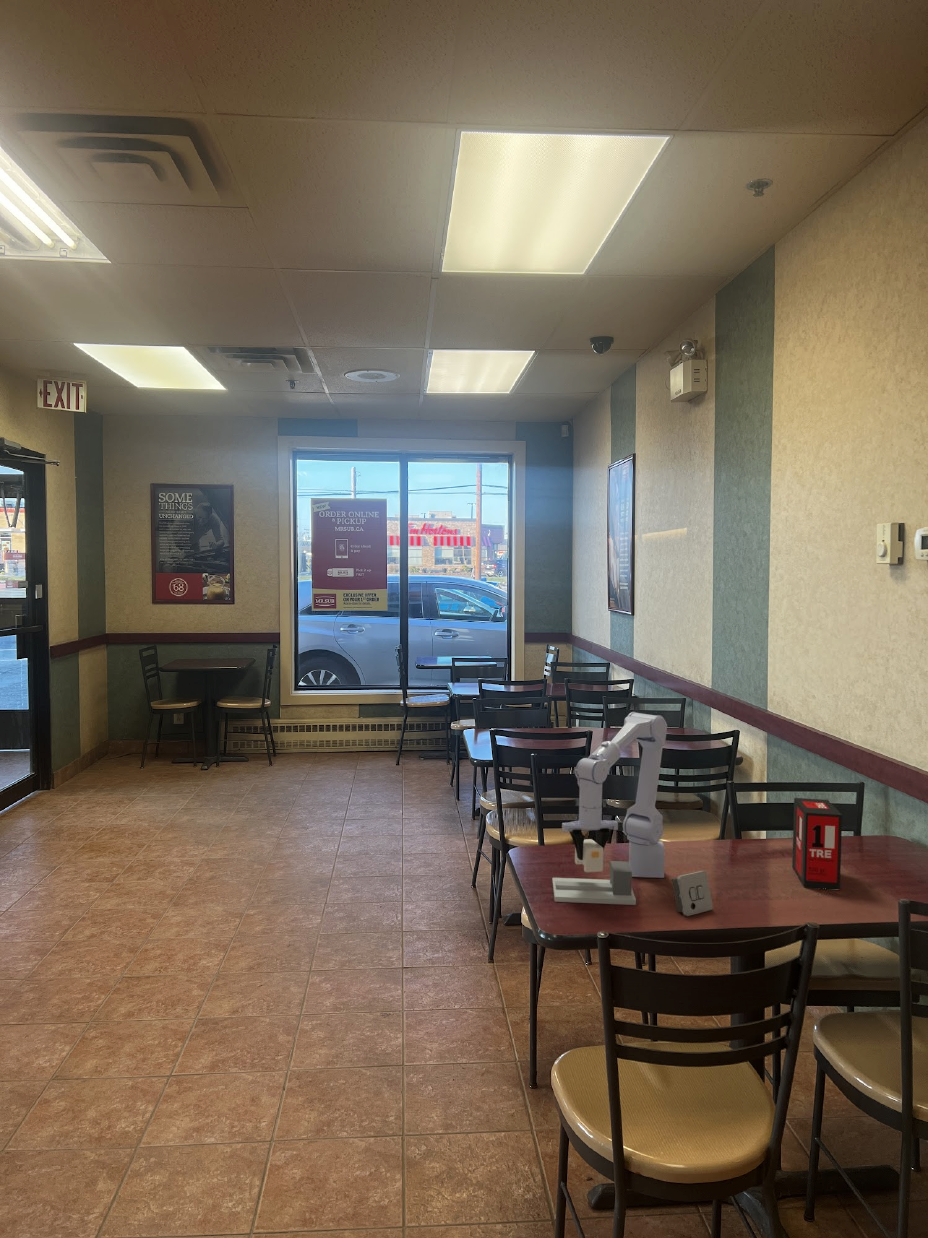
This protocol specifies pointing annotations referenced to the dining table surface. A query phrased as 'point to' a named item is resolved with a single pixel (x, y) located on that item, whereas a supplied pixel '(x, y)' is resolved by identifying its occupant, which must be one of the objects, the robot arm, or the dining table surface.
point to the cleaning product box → (817, 843)
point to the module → (591, 856)
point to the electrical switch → (692, 893)
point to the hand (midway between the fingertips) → (589, 858)
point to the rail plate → (598, 887)
